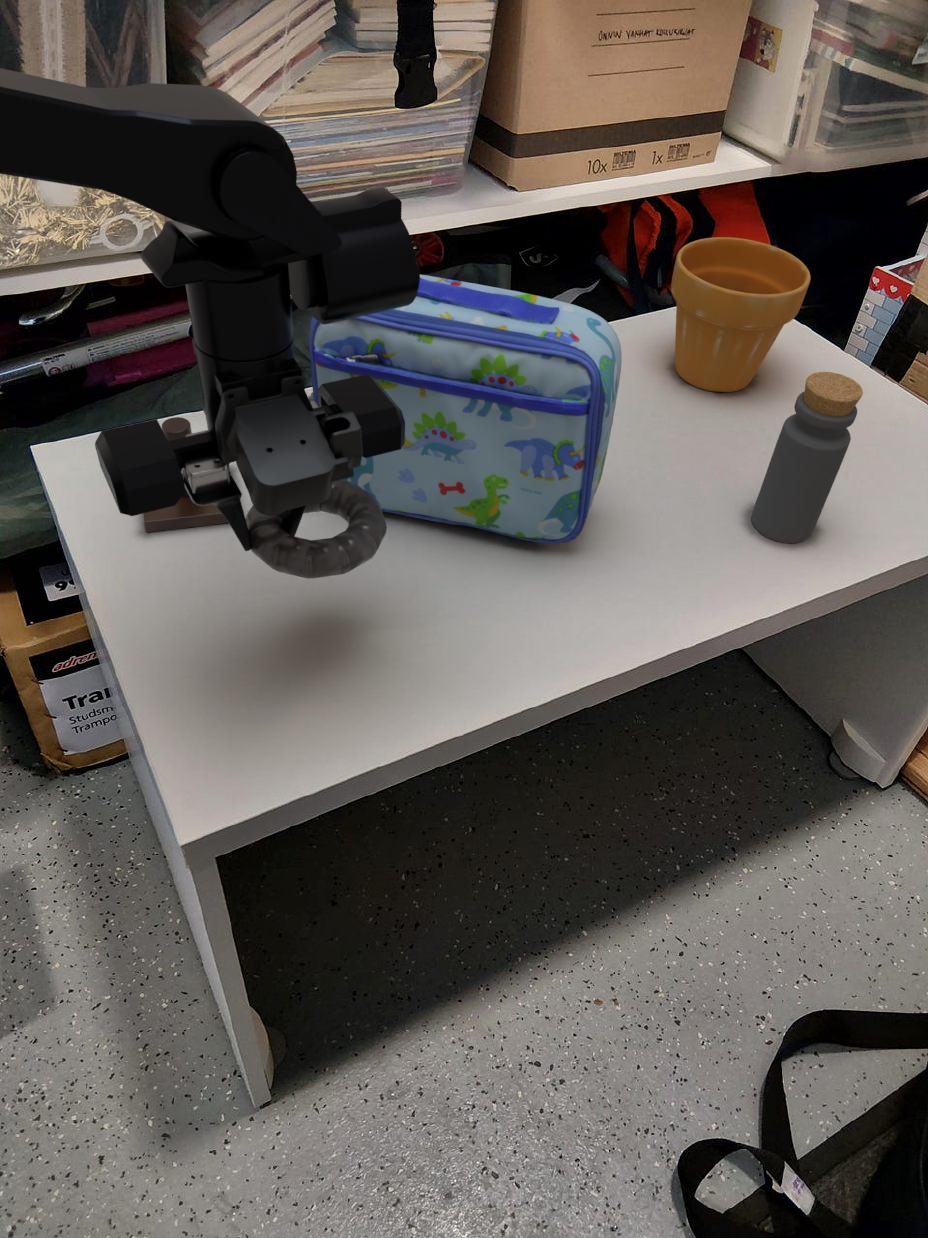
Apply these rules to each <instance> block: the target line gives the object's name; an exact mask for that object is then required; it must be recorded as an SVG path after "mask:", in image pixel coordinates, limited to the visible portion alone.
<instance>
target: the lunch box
mask: <svg viewBox="0 0 928 1238" xmlns="http://www.w3.org/2000/svg"><path fill="white" fill-rule="evenodd" d="M308 348H309V359H310V371H311V384H312V385H311V386H312V392H311V393H310V395H307V396H308V398H309V400H310V401H315V402H316V403H317V404H318V406H319V407H321V406H320V404H319V403H318V388H319V387H320V386H321V385H322V384H324V383H329V382H334V381H338V380H343V379H348V378H352V377H357V376H362V375H366V374H369V375H370V376H371V377H372V378H374V379H375V380H376V381H377V382H378V383H379V384H380V385H381V387H382V388H383V389H384V390H385V391H386V393H387V394H388V395H389V396H390V397H391V399H392V400H393V401H394V402H395V403H396V405H397V406H398V407H399V408H400V409H401V410H402V414H403V417H404V420H405V444H404V445H403V447H402V448H401V450H397V451H393V452H389V453H384V454H380V455H376V456H372V457H368V458H364V457H363V456H362V460H361V464H360V466H359V467H356V468H353V471H354V476H353V477H352V478H347V479H344V480H345V481H350V482H353V483H355V484H356V485H358V486H359V487H361V488H362V489H364V490H365V491H366V492H368V493H369V494H371V495H372V496H374V497H375V498H376V499H377V500H378V502H379V504H380V506H381V509H382V512H383V513H390V514H395V515H399V516H406V517H410V518H415V519H419V520H420V519H421V520H426V521H430V522H436V523H444V524H448V525H452V526H453V525H454V526H455V525H456V526H467V527H470V528H474V529H475V528H476V529H480V530H484V531H488V532H492V533H496V534H499V535H503V536H506V537H507V536H508V537H511V538H515V539H519V540H523V541H527V542H531V543H538V544H539V543H540V544H551V545H552V544H554V545H555V544H565V543H569V542H571V541H574V540H575V539H576V538H577V537H578V536H579V535H580V534H581V533H582V531H583V529H584V527H585V524H586V522H587V519H588V515H589V512H590V510H591V509H592V506H593V501H594V499H595V496H596V493H597V491H598V488H599V485H600V483H601V478H602V476H603V472H604V467H605V462H606V458H607V454H608V448H609V444H610V438H611V434H612V433H611V432H612V427H613V423H614V416H615V410H616V404H617V398H618V393H619V388H620V381H621V373H622V345H621V342H620V338H619V336H618V334H617V332H616V331H615V329H614V327H613V326H612V325H611V324H610V323H609V322H608V321H607V320H606V319H604V318H603V317H601V316H600V315H599V314H597V313H595V312H593V311H592V310H589V309H586V308H585V307H581V306H579V305H576V304H573V303H569V302H566V301H561V300H557V299H554V298H548V297H544V296H540V295H535V294H531V293H526V292H522V291H518V290H511V289H506V288H502V287H494V286H489V285H484V284H479V283H474V282H473V283H472V282H467V281H461V280H456V279H451V278H450V279H449V278H444V277H439V276H432V275H426V274H421V273H420V282H419V289H418V293H417V296H416V298H415V299H414V301H413V303H411V304H410V305H408V306H404V307H400V308H395V309H391V310H387V311H382V312H378V313H374V314H369V315H365V316H361V317H357V318H352V319H348V320H344V321H339V322H335V323H331V324H322V323H320V322H318V321H317V320H316V319H315V318H314V317H313V316H312V318H311V320H310V326H309V332H308Z"/></svg>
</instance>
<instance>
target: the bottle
mask: <svg viewBox="0 0 928 1238" xmlns="http://www.w3.org/2000/svg"><path fill="white" fill-rule="evenodd" d="M863 394H864V390H863V388H862V386H861V385H860V384H859V383H858V382H857V381H856V380H854V379H853V378H851V377H849V376H846V375H844V374H842V373H838V372H831V371H818V372H817V371H816V372H814V373H811V374H809V375H808V376H807V377H806V379H805V386H804V391H802V392H801V393H800V394H798V396H797V397H796V399H795V403H794V408H793V409H794V412H795V413H794V414H791V415H789V416H788V417H787V418H786V419H785V420H784V422H783V424H782V427H781V430H780V433H779V435H778V438H777V441H776V444H775V447H774V448H773V452H772V455H771V458H770V460H769V463H768V466H767V470H766V472H765V474H764V478H763V481H762V483H761V486H760V489H759V492H758V496H757V498H756V501H755V504H754V506H753V510H752V513H751V523H752V525H753V527H754V528H755V530H757V531H758V532H759V533H760V534H761V535H763V537H765V538H768V539H769V540H772V541H774V542H778V543H785V544H798V543H802V542H805V541H806V540H807V539H809V538H810V537H811V536H812V534H813V532H814V530H815V529H816V525H817V523H818V521H819V518H820V516H821V514H822V512H823V509H824V506H825V504H826V501H827V500H828V497H829V495H830V492H831V490H832V487H833V485H834V484H835V483H834V482H835V480H836V479H837V475H838V473H839V470H840V468H841V466H842V463H843V461H844V458H845V457H846V454H847V451H848V449H849V446H850V443H851V440H852V437H851V433H850V431H849V429H848V428H849V427H851V426H852V425H853V424H854V422H855V420H856V418H857V415H858V408H857V404H858V403H859V401H860V400H861V398H862V397H863Z"/></svg>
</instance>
